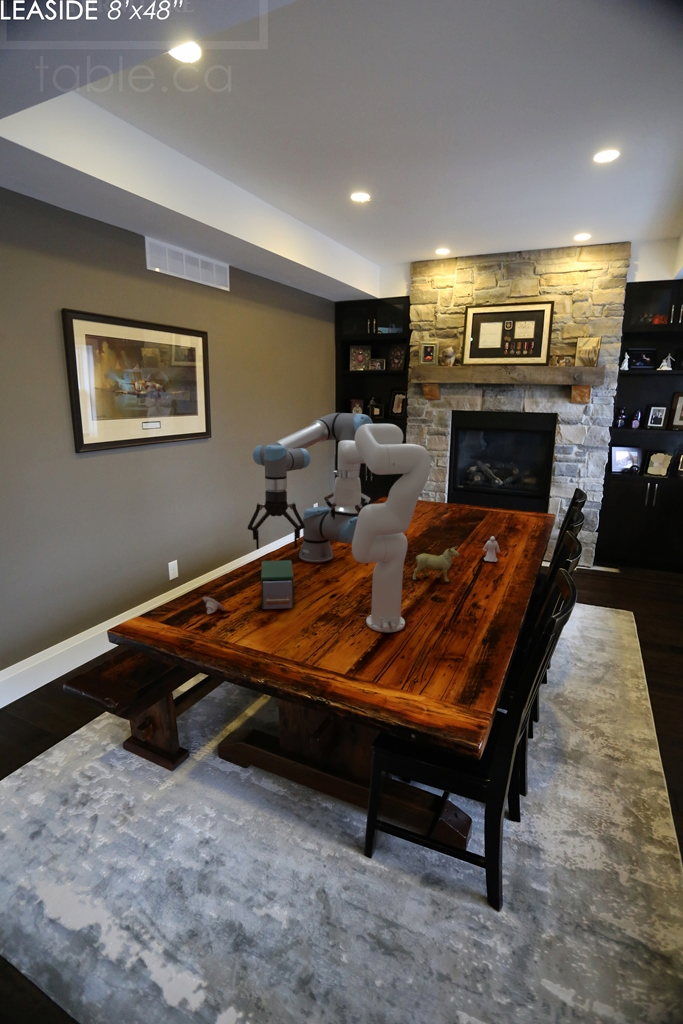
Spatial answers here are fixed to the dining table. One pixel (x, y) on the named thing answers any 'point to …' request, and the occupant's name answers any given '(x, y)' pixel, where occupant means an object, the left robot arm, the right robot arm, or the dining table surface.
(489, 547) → the figurine
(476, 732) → the dining table surface
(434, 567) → the toy
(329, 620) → the dining table surface
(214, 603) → the seashell
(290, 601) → the drawer
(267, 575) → the cabinet
